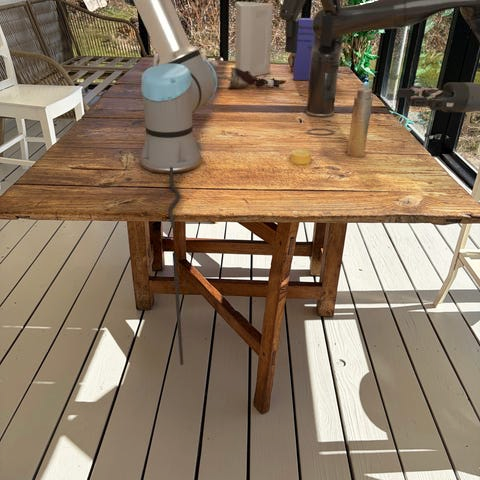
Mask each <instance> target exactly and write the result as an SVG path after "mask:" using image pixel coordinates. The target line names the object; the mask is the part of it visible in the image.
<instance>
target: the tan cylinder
mask: <svg viewBox="0 0 480 480" xmlns="http://www.w3.org/2000/svg"><path fill="white" fill-rule="evenodd" d="M372 95H373V89H372V88H367V87H361V88H358V89H357V93H356V95H355V96H354V100H353V108H352V115H351V122H350V128H349V135H348V143H347V151H346V154H347V155H348V156H351V157H354V158H359V157H360V158H361V157H363V156H365V152H366V146H367V138H368V132H369V125H370V119H371V113H372V105H373V101H374V98H373V96H372Z"/></svg>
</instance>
